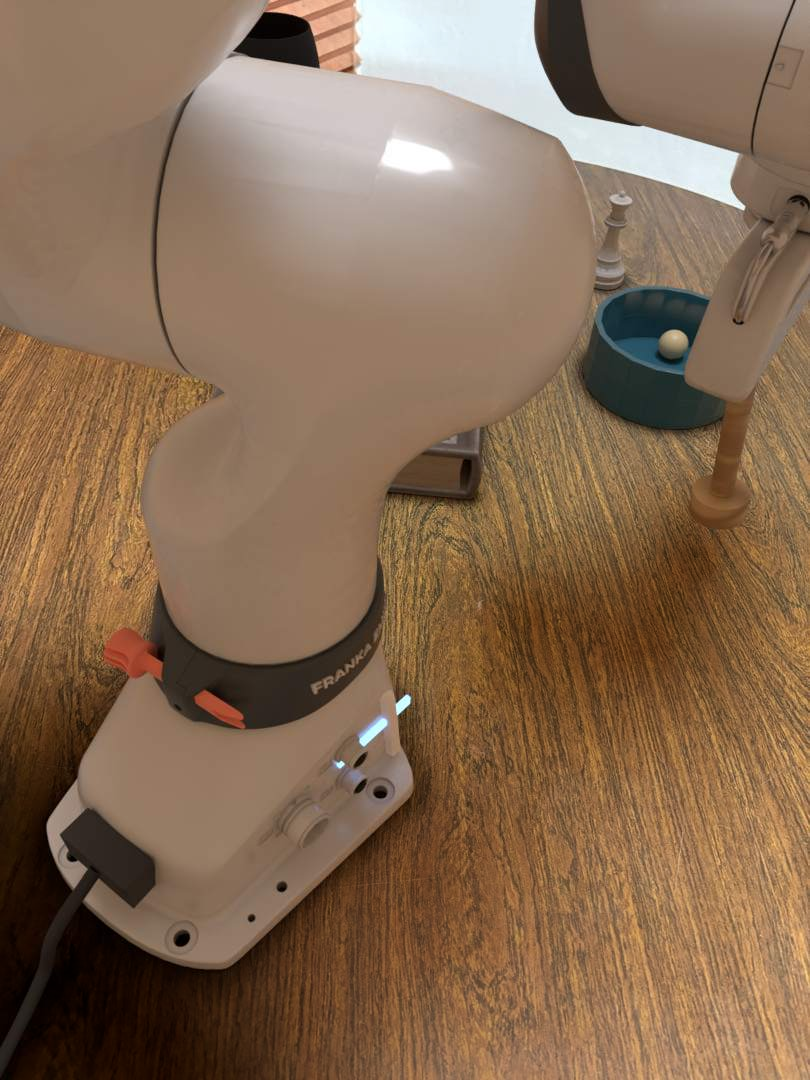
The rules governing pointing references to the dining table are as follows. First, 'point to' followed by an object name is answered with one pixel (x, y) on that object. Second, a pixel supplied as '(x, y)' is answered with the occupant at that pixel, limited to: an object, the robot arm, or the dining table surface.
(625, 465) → the dining table surface
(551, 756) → the dining table surface
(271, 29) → the wine glass
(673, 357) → the beige ball
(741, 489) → the wooden peg stand
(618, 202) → the chess piece
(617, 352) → the bowl
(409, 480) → the book
